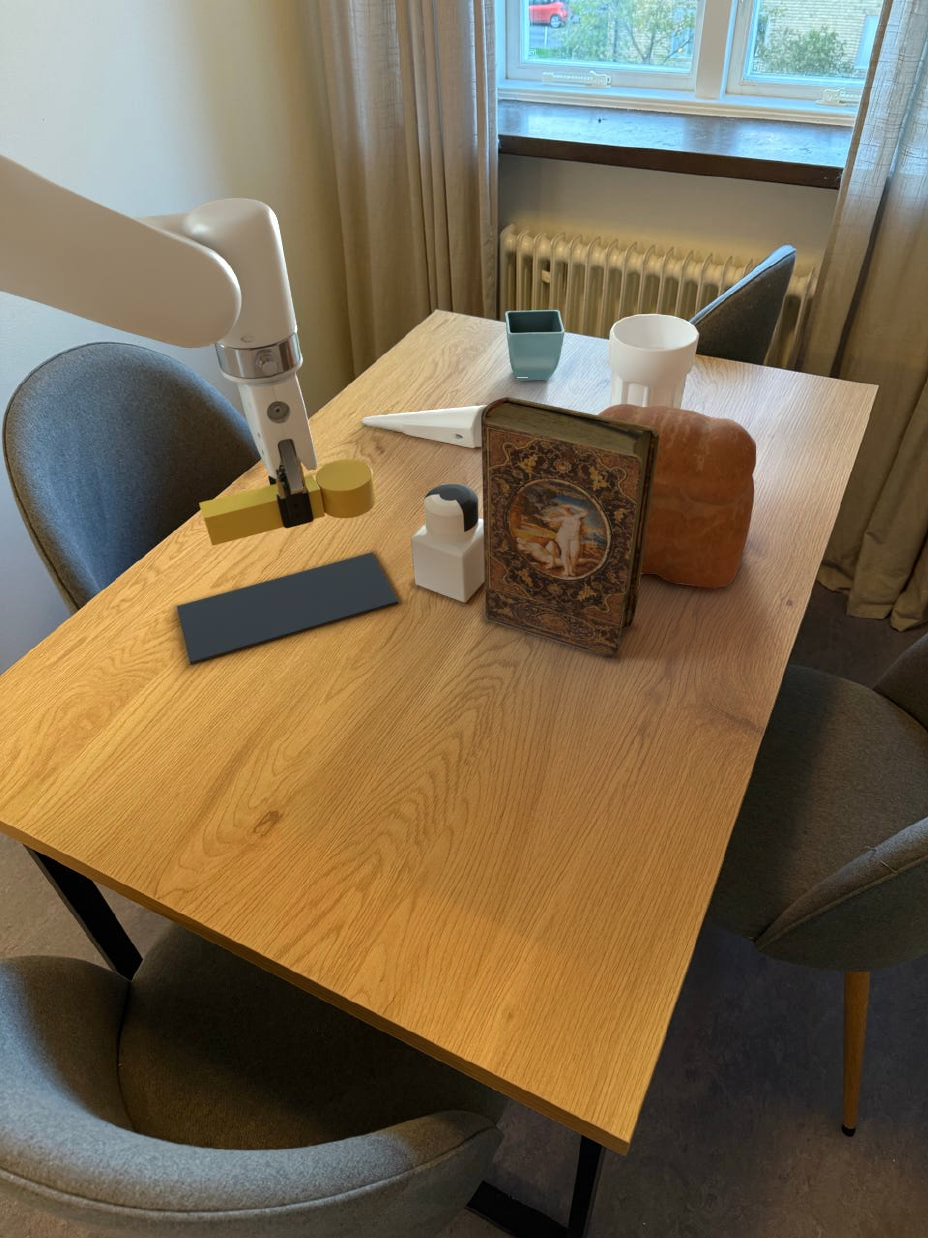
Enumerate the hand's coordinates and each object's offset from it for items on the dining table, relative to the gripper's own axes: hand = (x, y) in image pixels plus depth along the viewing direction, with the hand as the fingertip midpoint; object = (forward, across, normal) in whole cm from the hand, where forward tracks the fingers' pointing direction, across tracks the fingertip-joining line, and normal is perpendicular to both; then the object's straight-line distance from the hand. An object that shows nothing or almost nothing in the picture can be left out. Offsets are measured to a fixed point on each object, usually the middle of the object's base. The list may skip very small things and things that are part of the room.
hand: (294, 512), depth 89 cm
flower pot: (+13, +40, -48) cm, 64 cm away
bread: (+13, -7, -41) cm, 44 cm away
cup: (+13, +13, -52) cm, 55 cm away
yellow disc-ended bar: (0, 0, 0) cm, 0 cm away
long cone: (+13, +31, -25) cm, 42 cm away
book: (+13, -15, -24) cm, 31 cm away
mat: (+13, +1, +3) cm, 13 cm away
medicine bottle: (+13, -3, -17) cm, 21 cm away
